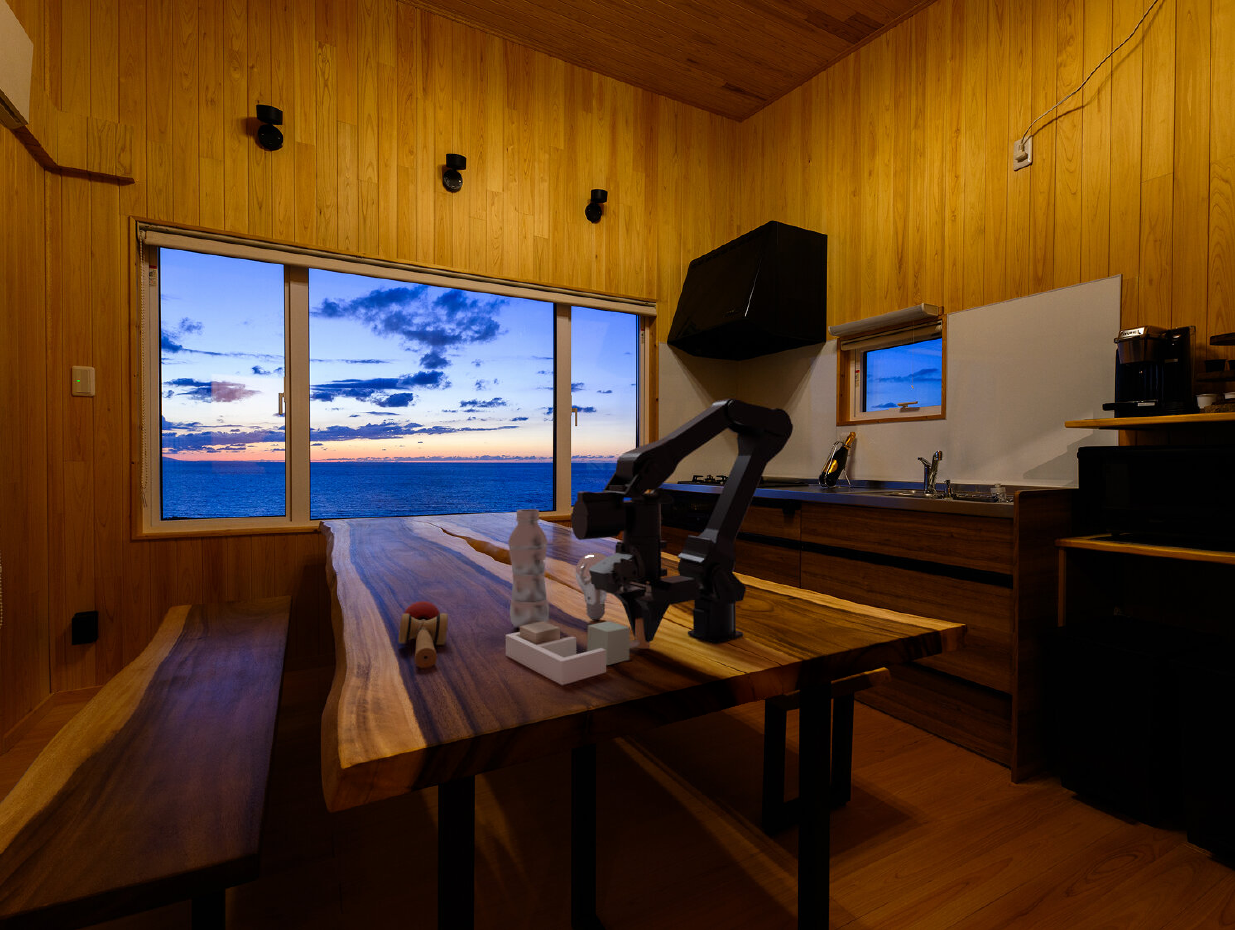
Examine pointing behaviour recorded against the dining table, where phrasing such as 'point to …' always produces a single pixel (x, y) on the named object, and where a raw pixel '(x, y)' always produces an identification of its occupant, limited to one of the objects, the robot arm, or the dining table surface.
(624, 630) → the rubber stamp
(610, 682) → the dining table surface
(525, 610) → the plastic bottle
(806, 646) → the dining table surface
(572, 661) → the lane rack
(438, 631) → the kendama
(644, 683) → the dining table surface
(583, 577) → the light bulb
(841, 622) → the dining table surface
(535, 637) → the ash block
